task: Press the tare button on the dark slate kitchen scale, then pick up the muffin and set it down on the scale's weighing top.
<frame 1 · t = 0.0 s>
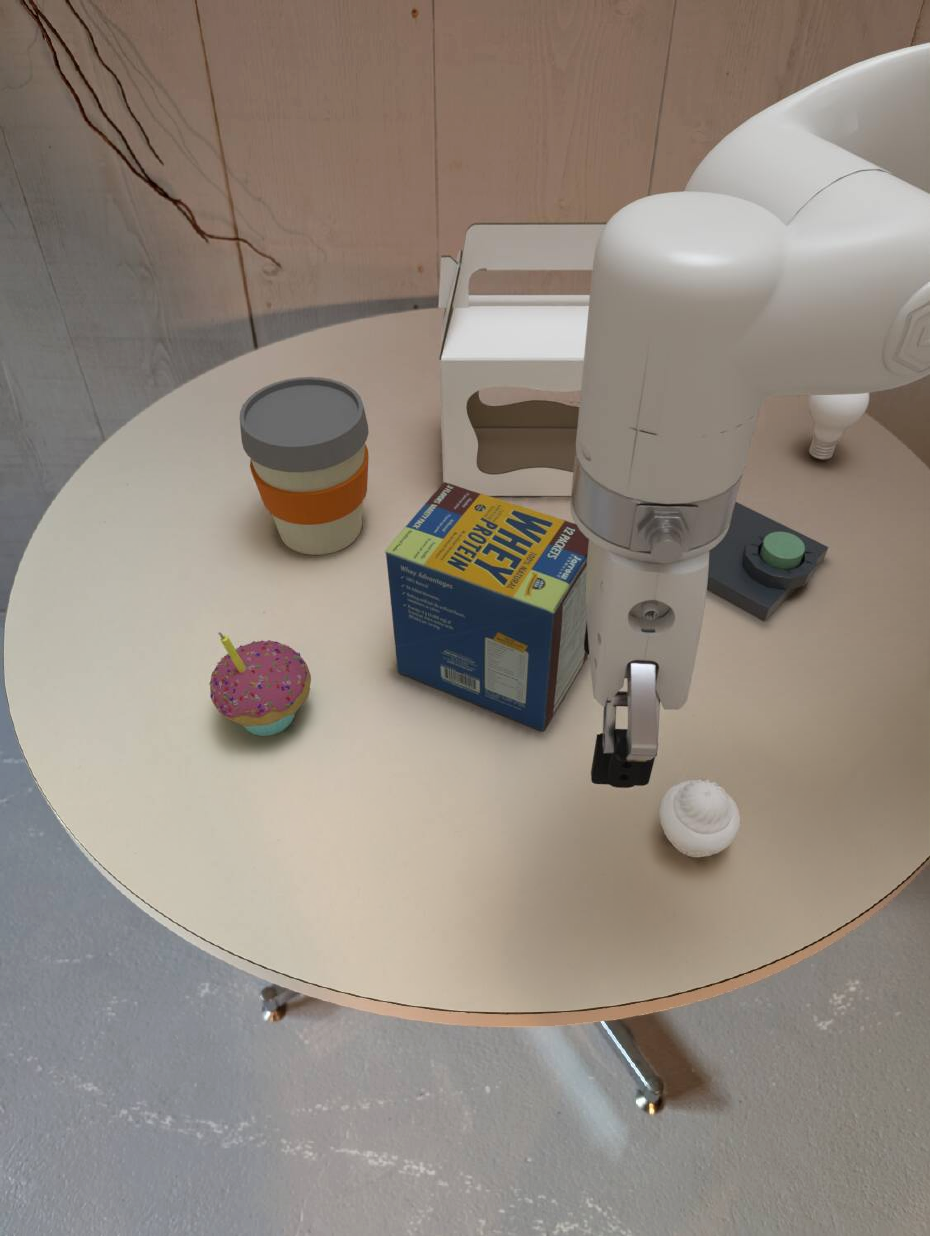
hand: (613, 711, 54), 22 cm above the table, tool pointing down, fingers open, 9 cm apart
reusable coffee cup: (321, 528, 99), on the table
muffin: (691, 840, 73), on the table
tare button: (782, 550, 90), point 4 cm above the table, slide at 0.1 cm
sauce bottle: (687, 444, 109), on the table
protein box: (492, 665, 86), on the table
gable box: (537, 463, 107), on the table
lightbulb: (818, 458, 107), on the table
scale: (734, 558, 95), on the table
cupcake: (268, 715, 82), on the table
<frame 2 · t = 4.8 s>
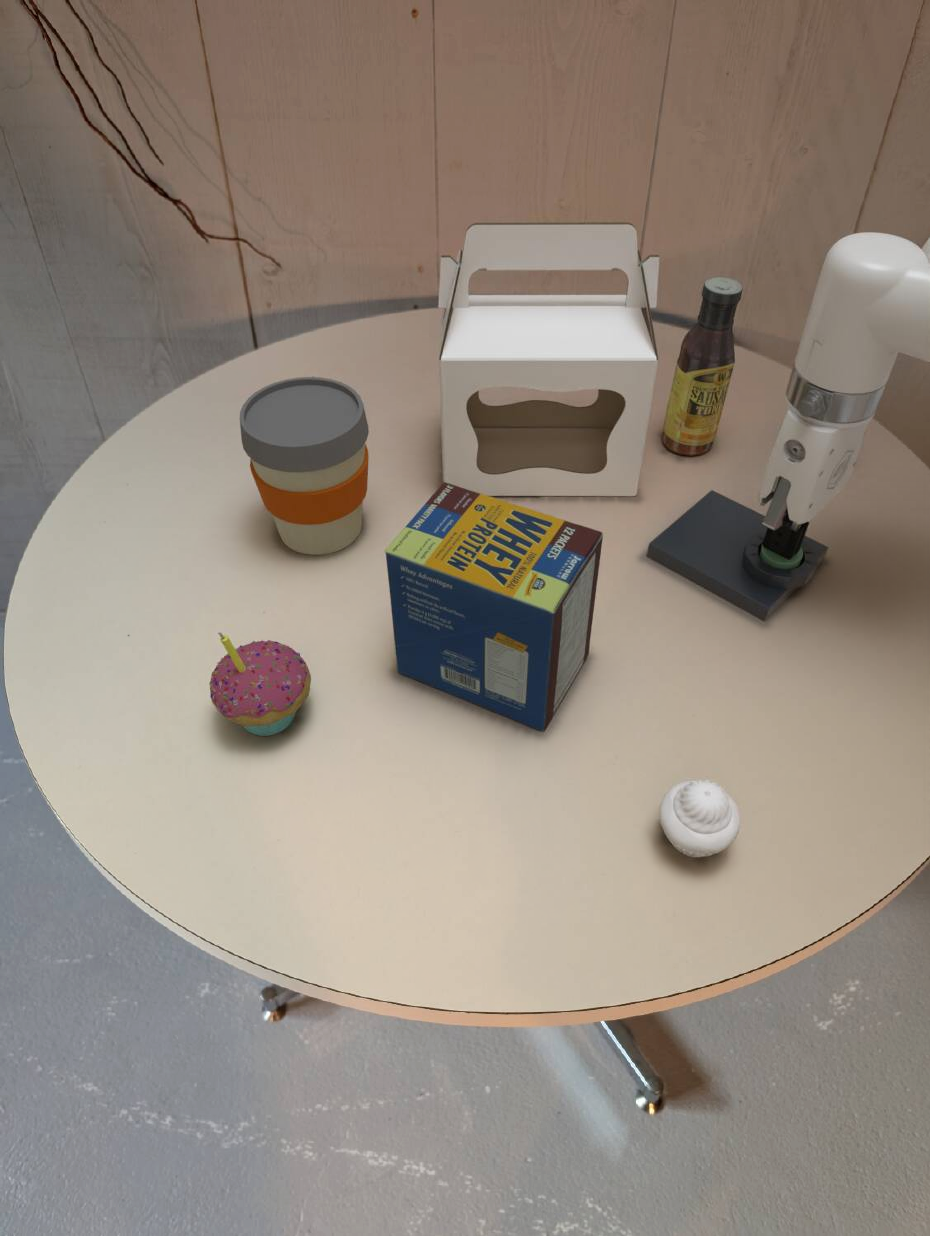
hand: (780, 549, 90), 4 cm above the table, tool pointing down, fingers closed
tare button: (780, 555, 91), point 3 cm above the table, slide at -0.6 cm, touching gripper
everything else where it was.
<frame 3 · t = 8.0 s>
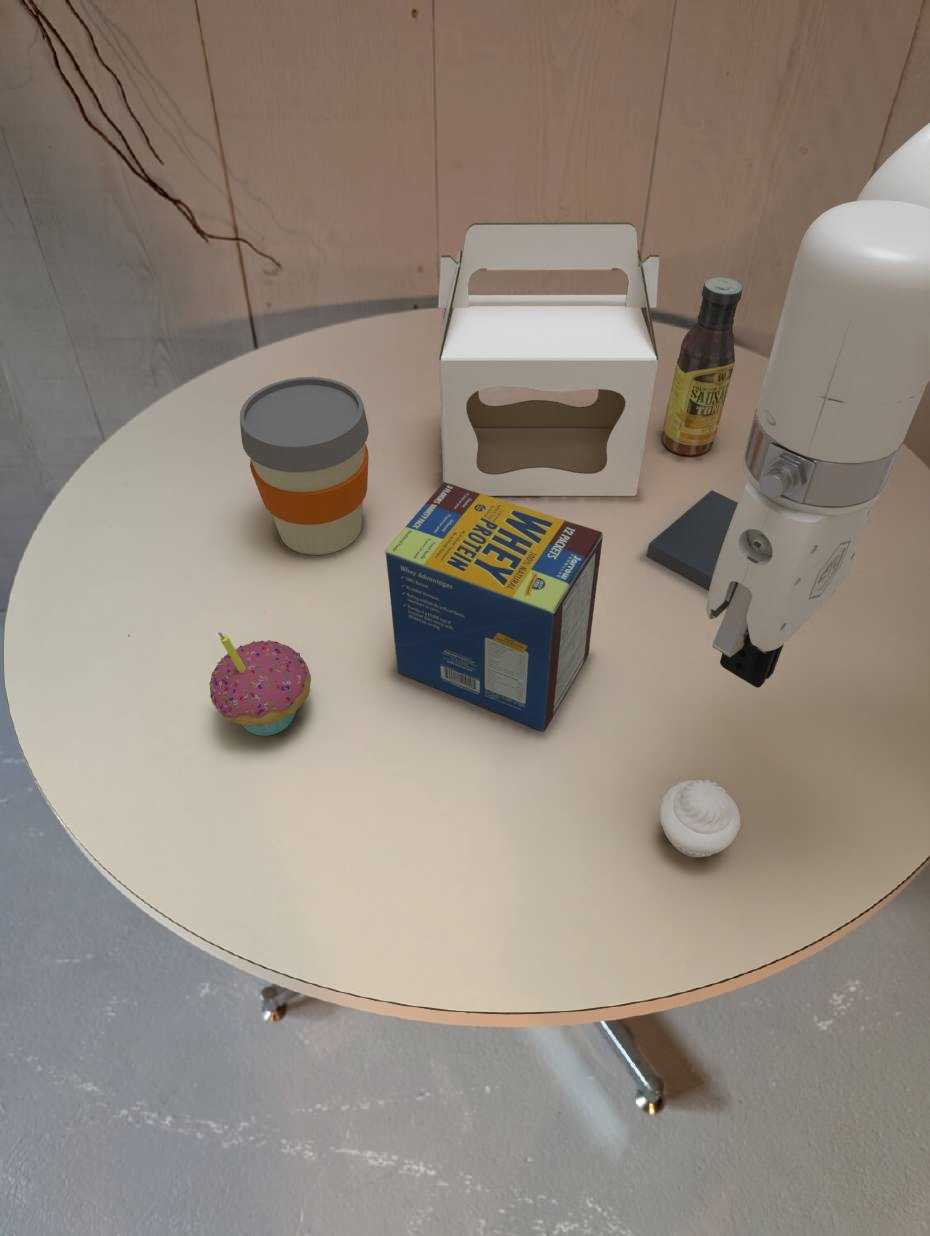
hand: (745, 670, 62), 17 cm above the table, tool pointing down, fingers closed
tare button: (782, 550, 90), point 4 cm above the table, slide at 0.1 cm
everything else where it was.
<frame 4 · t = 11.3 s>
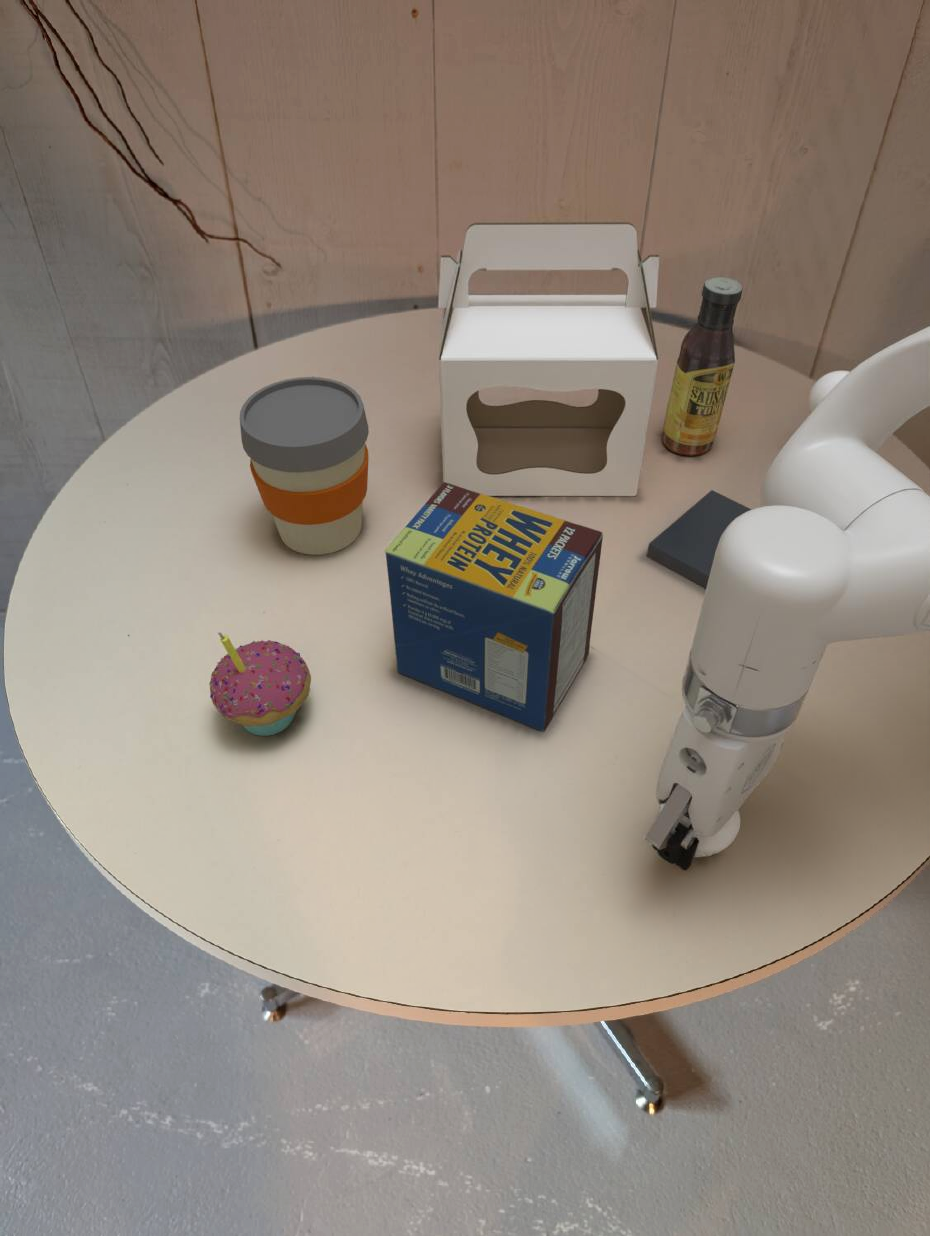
hand: (696, 826, 71), 2 cm above the table, tool pointing down, fingers closed on muffin, 6 cm apart
muffin: (691, 840, 73), on the table, touching gripper
everything else where it was.
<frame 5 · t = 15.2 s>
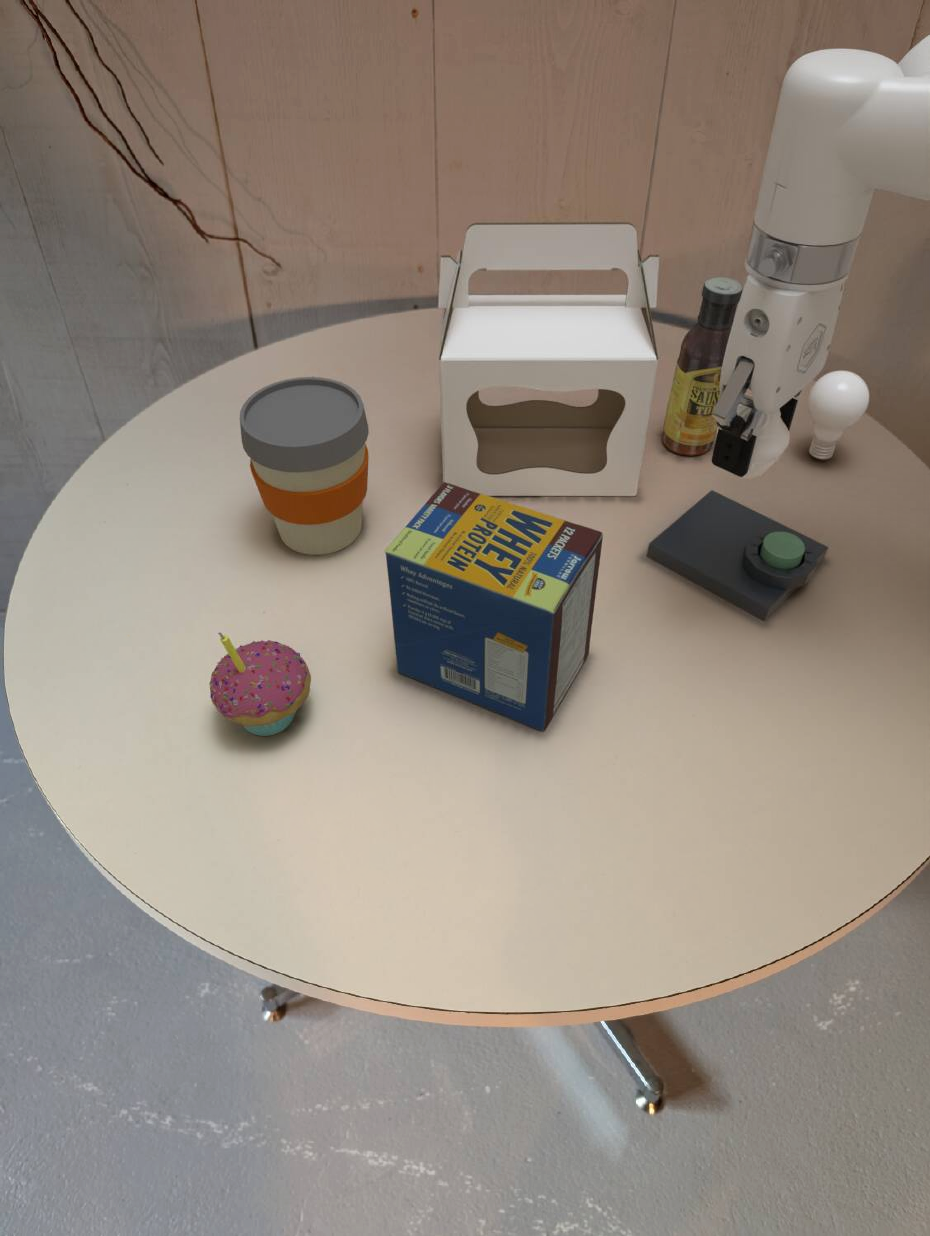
hand: (749, 449, 79), 17 cm above the table, tool pointing down, fingers closed on muffin, 6 cm apart
muffin: (744, 469, 81), point 15 cm above the table, touching gripper
everything else where it was.
when the fingers open (4 cm above the table, at t = 19.4 s): muffin stays where it is, resting on scale.
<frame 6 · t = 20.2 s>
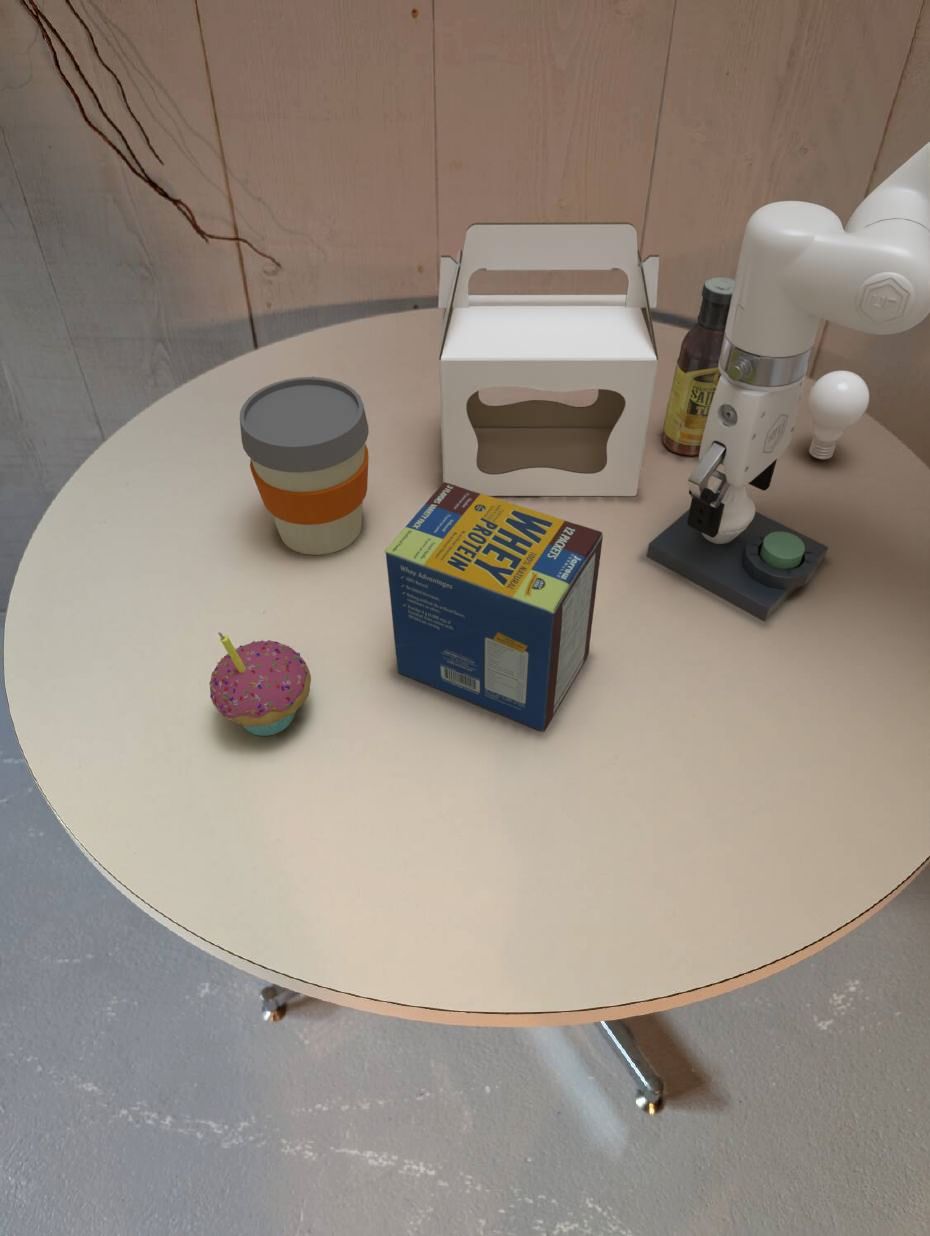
hand: (728, 506, 92), 6 cm above the table, tool pointing down, fingers open, 9 cm apart
muffin: (717, 535, 95), point 2 cm above the table, touching scale
everything else where it was.
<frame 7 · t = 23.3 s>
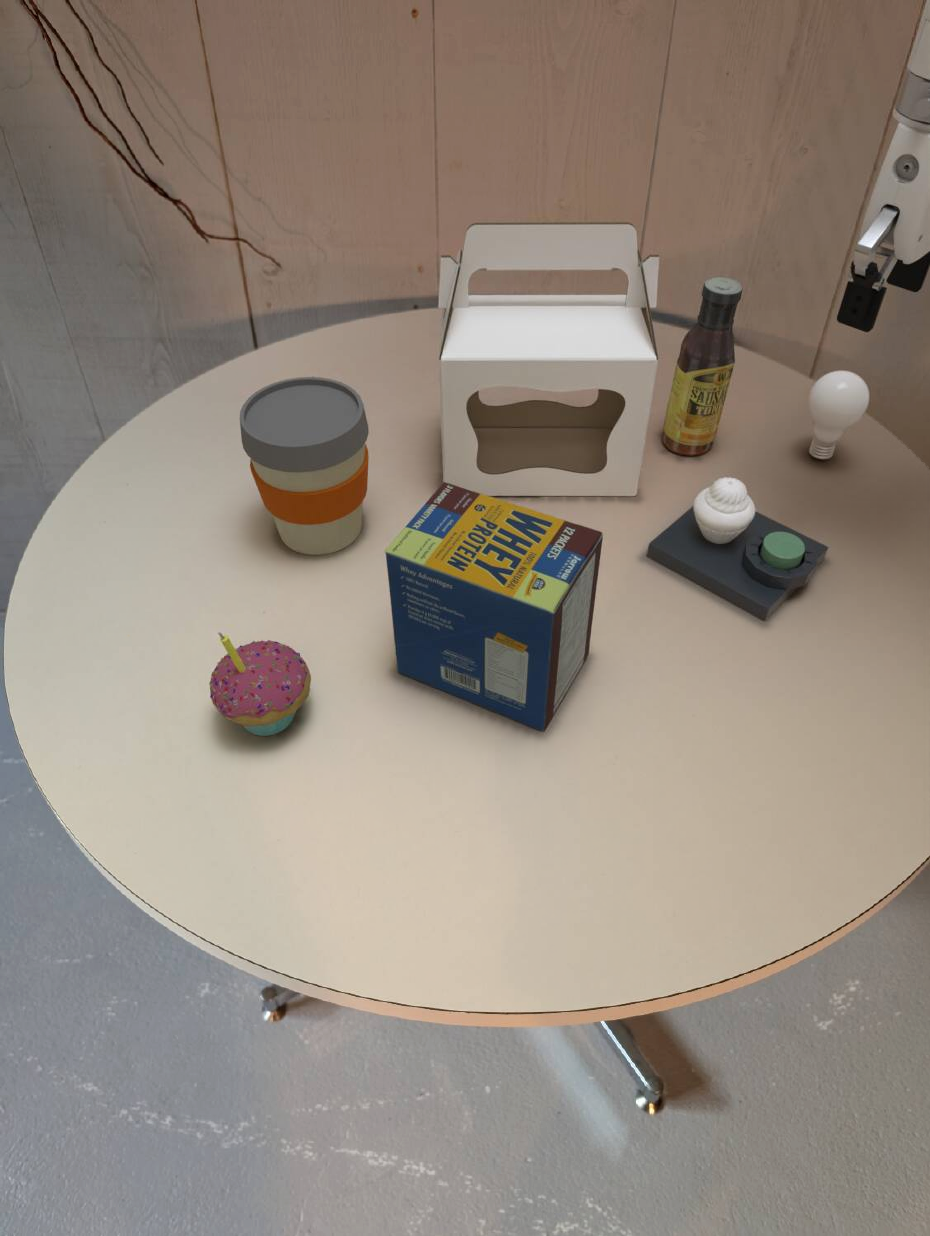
hand: (878, 305, 83), 24 cm above the table, tool pointing down, fingers open, 9 cm apart
nothing on the table moved.
at the end: tare button pushed in 0.9 cm at the most during the clip, back to where it started at the end; muffin inside the target area on the scale (2.5 cm from its centre), point 1.7 cm above the scale's base; muffin tilted 0° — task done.
